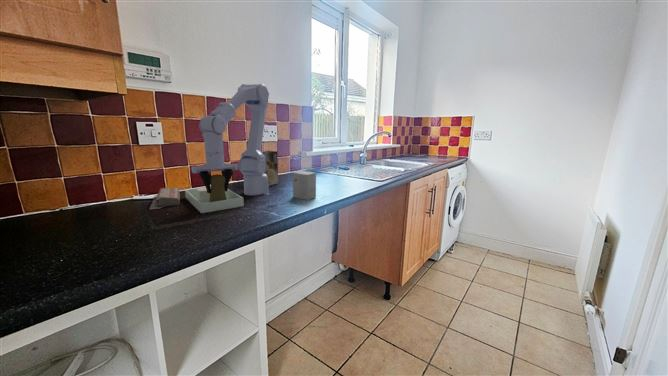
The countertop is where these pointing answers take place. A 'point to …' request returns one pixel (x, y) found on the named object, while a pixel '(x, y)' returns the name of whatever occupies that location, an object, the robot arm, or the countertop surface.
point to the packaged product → (166, 198)
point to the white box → (202, 194)
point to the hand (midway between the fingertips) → (217, 191)
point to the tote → (207, 206)
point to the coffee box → (271, 166)
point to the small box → (304, 185)
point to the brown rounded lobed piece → (217, 188)
